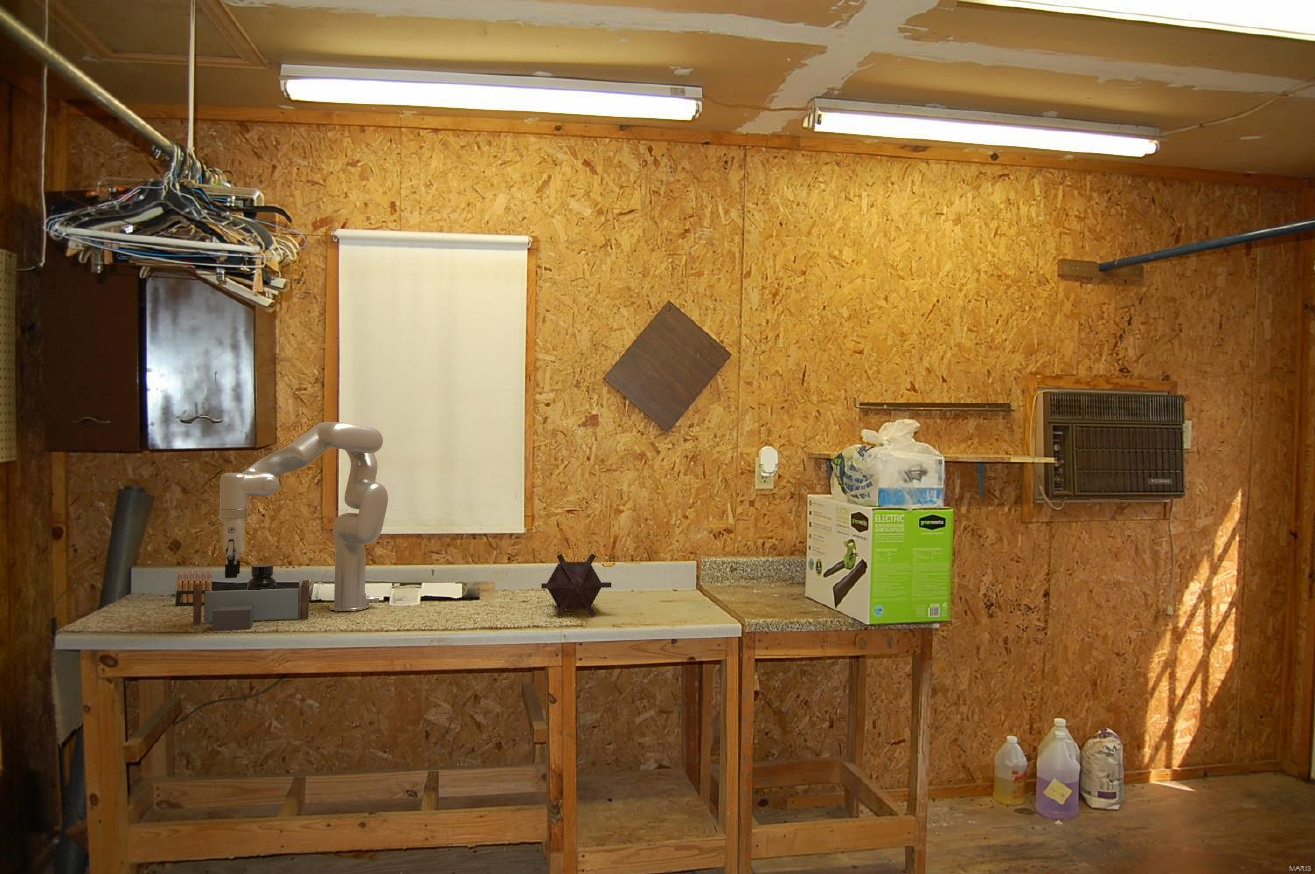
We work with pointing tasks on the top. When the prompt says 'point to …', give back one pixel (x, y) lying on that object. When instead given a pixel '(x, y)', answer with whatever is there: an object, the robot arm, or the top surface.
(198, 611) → the door frame
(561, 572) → the black spiked polyhedron
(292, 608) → the door
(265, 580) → the ink bottle
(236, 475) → the robot arm
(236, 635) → the top surface
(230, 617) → the doorstop block
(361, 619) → the top surface
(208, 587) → the ammunition clip
